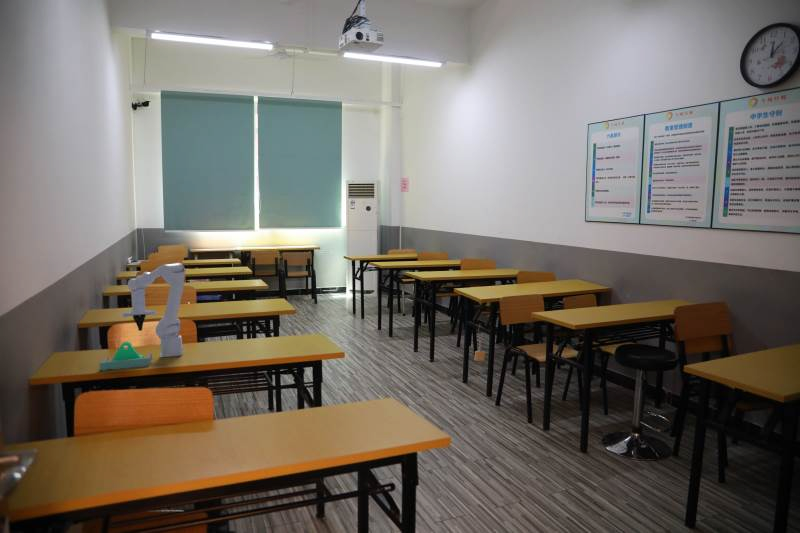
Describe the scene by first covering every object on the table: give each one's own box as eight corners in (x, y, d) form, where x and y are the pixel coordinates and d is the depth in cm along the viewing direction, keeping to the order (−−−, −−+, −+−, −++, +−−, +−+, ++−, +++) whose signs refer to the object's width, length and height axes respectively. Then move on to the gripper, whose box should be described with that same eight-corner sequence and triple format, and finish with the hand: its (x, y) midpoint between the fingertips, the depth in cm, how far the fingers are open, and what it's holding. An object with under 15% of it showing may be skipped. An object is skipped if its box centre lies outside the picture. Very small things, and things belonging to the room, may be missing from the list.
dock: (152, 358, 249) (151, 350, 249) (148, 365, 237) (148, 358, 236) (105, 362, 243) (105, 355, 242) (100, 370, 230) (99, 362, 230)
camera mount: (143, 359, 247) (142, 338, 246) (141, 364, 240) (139, 341, 239) (114, 362, 243) (112, 340, 242) (111, 367, 236) (109, 344, 235)
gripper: (155, 300, 266) (157, 327, 268) (123, 302, 261) (125, 329, 263) (154, 302, 260) (156, 330, 261) (120, 304, 255) (123, 332, 256)
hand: (140, 330), depth 261 cm, fingers closed
